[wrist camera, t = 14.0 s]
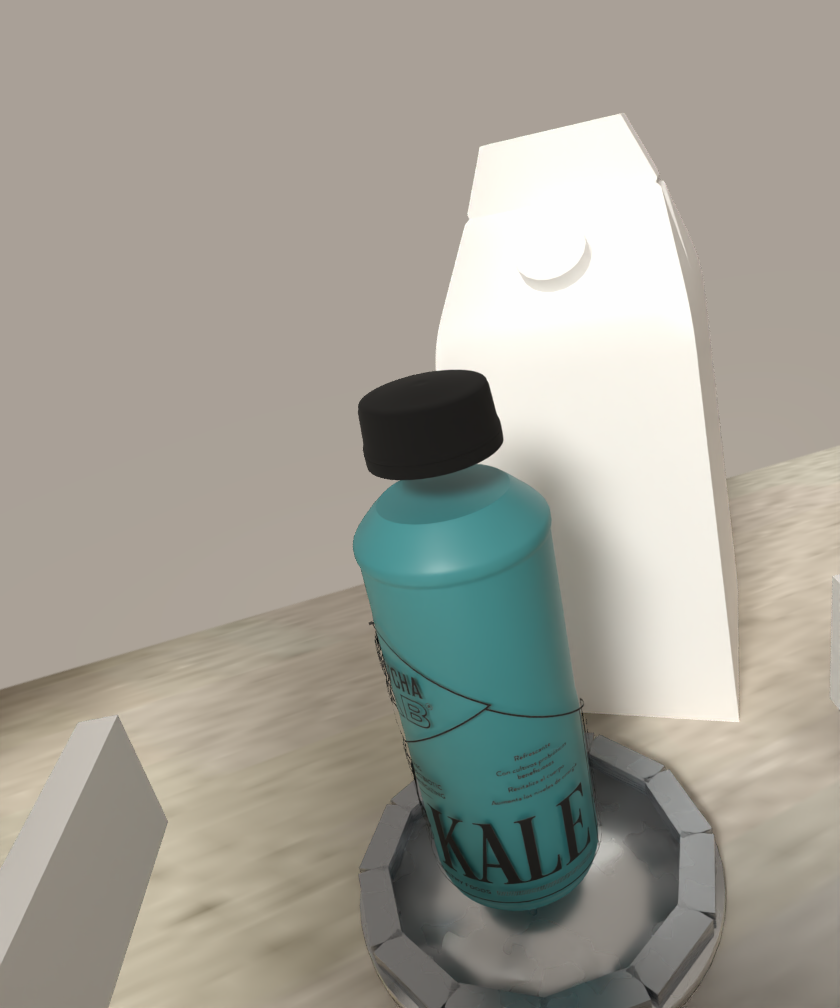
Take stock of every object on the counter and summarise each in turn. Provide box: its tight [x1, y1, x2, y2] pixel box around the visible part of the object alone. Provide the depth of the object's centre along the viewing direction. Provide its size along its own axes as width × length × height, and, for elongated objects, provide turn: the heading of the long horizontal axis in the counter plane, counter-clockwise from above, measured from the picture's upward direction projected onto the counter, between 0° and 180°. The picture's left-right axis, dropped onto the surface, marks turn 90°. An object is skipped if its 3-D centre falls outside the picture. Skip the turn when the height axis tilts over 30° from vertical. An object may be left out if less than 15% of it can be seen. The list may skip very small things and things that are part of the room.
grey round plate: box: [359, 733, 726, 1008], centre depth 31 cm, size 14×14×1 cm
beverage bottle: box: [353, 370, 602, 911], centre depth 27 cm, size 6×7×20 cm
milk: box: [436, 113, 739, 722], centre depth 38 cm, size 12×12×26 cm
